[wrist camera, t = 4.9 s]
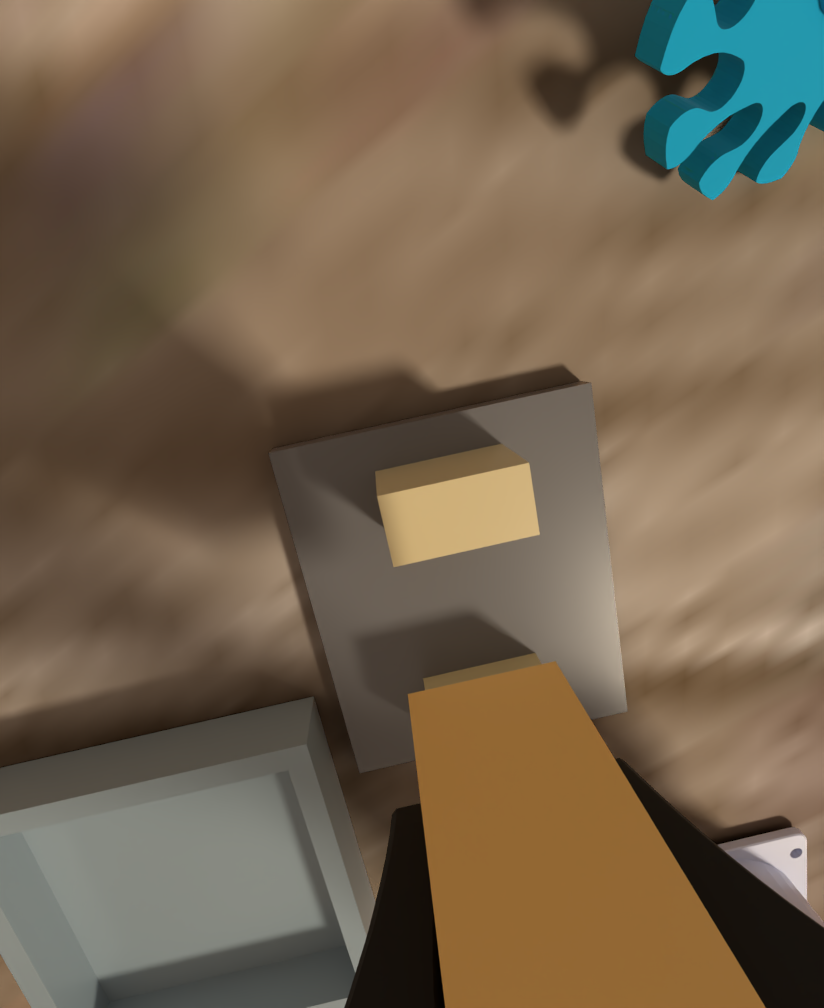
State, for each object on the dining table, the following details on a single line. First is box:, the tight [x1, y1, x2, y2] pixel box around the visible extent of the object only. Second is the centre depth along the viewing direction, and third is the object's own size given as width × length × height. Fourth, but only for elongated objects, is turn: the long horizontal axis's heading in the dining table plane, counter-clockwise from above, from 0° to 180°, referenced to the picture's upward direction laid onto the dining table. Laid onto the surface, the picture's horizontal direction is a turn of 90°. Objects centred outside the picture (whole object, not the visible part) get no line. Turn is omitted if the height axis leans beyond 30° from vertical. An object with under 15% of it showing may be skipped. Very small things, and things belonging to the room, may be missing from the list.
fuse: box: [408, 661, 766, 1008], centre depth 8 cm, size 4×3×6 cm, turn 11°
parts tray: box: [0, 696, 375, 1008], centre depth 20 cm, size 12×12×2 cm
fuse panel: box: [268, 381, 627, 773], centre depth 17 cm, size 12×10×4 cm
